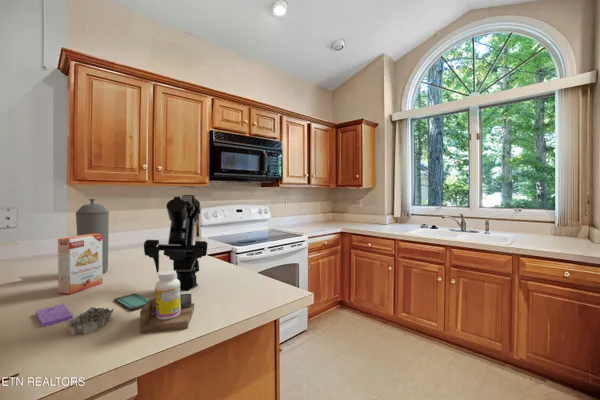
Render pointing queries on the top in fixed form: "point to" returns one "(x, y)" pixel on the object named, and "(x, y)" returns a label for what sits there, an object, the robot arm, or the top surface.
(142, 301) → the smartphone
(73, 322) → the egg carton
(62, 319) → the sponges
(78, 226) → the canister
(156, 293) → the supplement bottle
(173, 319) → the brown piece
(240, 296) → the top surface
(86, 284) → the cracker box
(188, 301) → the gray flat bar
